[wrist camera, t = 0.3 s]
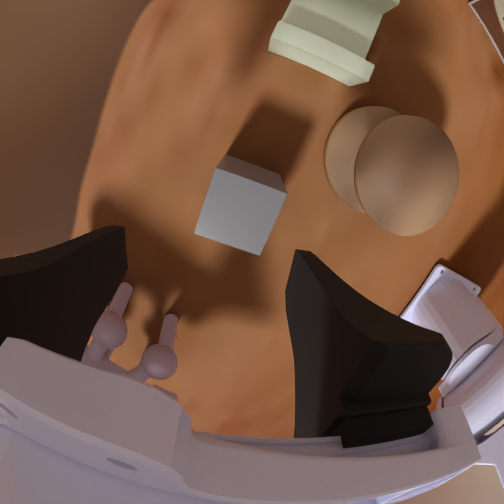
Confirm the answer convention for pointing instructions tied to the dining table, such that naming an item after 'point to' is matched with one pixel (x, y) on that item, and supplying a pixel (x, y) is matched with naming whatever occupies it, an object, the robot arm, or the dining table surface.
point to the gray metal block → (241, 205)
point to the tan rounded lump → (392, 168)
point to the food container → (491, 20)
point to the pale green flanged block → (331, 36)
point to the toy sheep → (114, 334)
